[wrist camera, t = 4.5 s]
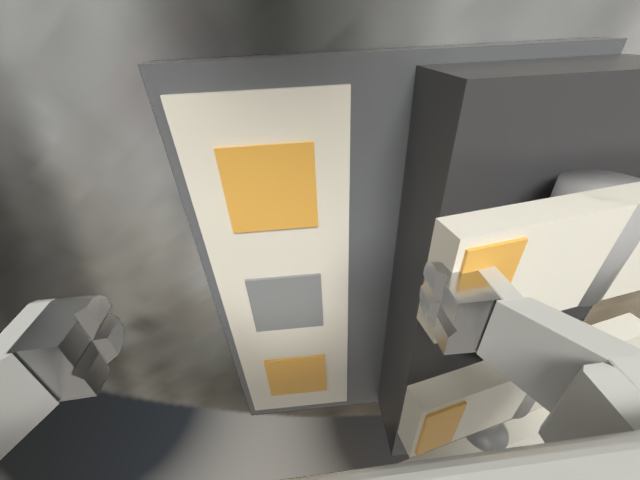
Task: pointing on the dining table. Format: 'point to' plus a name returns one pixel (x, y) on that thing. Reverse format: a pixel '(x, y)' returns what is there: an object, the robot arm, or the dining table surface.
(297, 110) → the switch unit
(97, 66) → the dining table surface
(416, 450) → the switch
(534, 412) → the switch
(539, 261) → the switch
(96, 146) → the dining table surface
